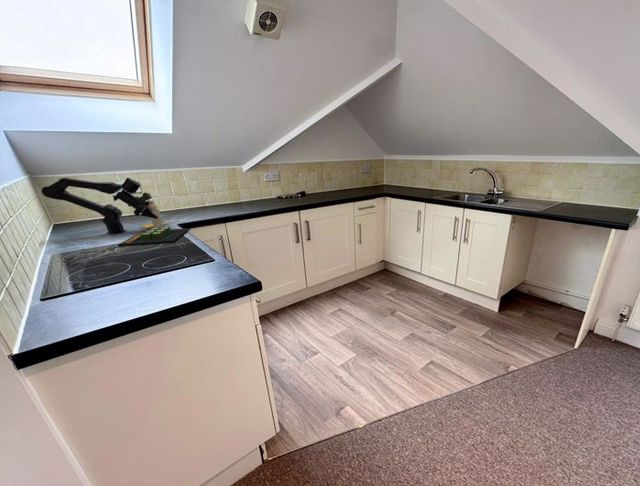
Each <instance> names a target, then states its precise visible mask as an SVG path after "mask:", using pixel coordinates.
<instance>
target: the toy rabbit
mask: <svg viewBox="0 0 640 486" xmlns="http://www.w3.org/2000/svg"><path fill="white" fill-rule="evenodd" d="M147 201H148V203H149V205H148V208H149V209H150V211H151V212H152V213H153V214H155V215H156V216H157V217H158V218H157V219H155V218H151V217H149V218H150V220H151V224H153V227H152V228H159V227H160V228H161V227H165V225H163V223H164V222H163V217H162V216H161V212H160V209H159V208H158V205H157V204H156V203H155V202H154V201H155V200H153V199H152V200H151V199H149V200H147ZM150 201H151V202H152V203H151V202H150Z"/></svg>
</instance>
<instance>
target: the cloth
mask: <svg viewBox="0 0 640 486" xmlns="http://www.w3.org/2000/svg"><path fill="white" fill-rule="evenodd" d="M168 224H169V223H168V222H163V225H164V226H165V225H168ZM140 228H142V229H151V228H154V227H153V224H152V223H150V224H145V225H142V226H140Z"/></svg>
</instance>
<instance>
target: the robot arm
mask: <svg viewBox="0 0 640 486" xmlns="http://www.w3.org/2000/svg"><path fill="white" fill-rule="evenodd" d="M141 186H142V184H141V183H140V182H138V181H137V180H134V179H132V178H130V177H126V179H125V180H124V182H123V183H122V184H118V183H116V182H113V181H90V180H83V179H77V178H71V177H61V178H59V179H58V180H57V181H55V182H53V183H52V184H49V185H46V186H44V187H42V188H41V194H42V195H43V197H45V198H49V199H53V200H56V201H57V200H58V201H65V202H68V203H71V204H74V205H76V206H79V207H82V208H84V209H88V210H89V211H93V212H96V213H98V214H99V215H101V216H102V217H103V219H102V220H101V221H102V223H103V224H104V225H105V227H106V231H107V232H106V234H107V235H108V234H109V235H116V234H121V233H125V232H126V229H124V228H125V227H124V225H123V223H122V222H121V217H122V216H123V212H122V210H121V209H119V208H118V206H114V205H112V204H111V203H110V204H109V203H108V204H105V205H102V204H100V203H97V202H95V201H91V200H88V199H85V198H83V197H81V196H78V195H76V194H73V193H71V192H69V191H68V190H67V188H69V187H73V188H81V189H86V190H87V189H88V190H94V191H97V192H100V193H103V194H107V195H112V198H113V201H114V202H116V201H118V200H119V201H121V202H123V203H124V204H126V205H127V207H130V208H133V209H134V210H133V215H135V216H136V217H146V218H150V217H151V218H155V219H157V218H158V217H157V216H156V215H155V214H153V213H152V212H151V211H150V209H149V208H148V205H149V203H148V200H150V202H151V203H152V200H151V199H152V198H153V196H151V193H149V192H147V191H146V192H143V193H142V196H134V194H136V193H137V192H138V190H139V189H140V187H141ZM120 190H121V191H120ZM151 218H150V219H151Z"/></svg>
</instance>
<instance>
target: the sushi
mask: <svg viewBox="0 0 640 486" xmlns="http://www.w3.org/2000/svg"><path fill="white" fill-rule="evenodd" d="M190 230H191V228H189V227H188V228H173V229H172V228H171V226H164V227H161V228H160V227H159V228H154V227H152V228H148V230H141V231H140V232H139V233H136V234H135V235H133V236H131V237H129V238H127V239H126V240H124V241H122V242H121V243H119V244H117V245H118V247H132V246H143V245H157V244H169V243H175V242H177V241H178V240H179V239H181V237H183V236H184V235H185V234H187V233H188V232H190Z"/></svg>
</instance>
